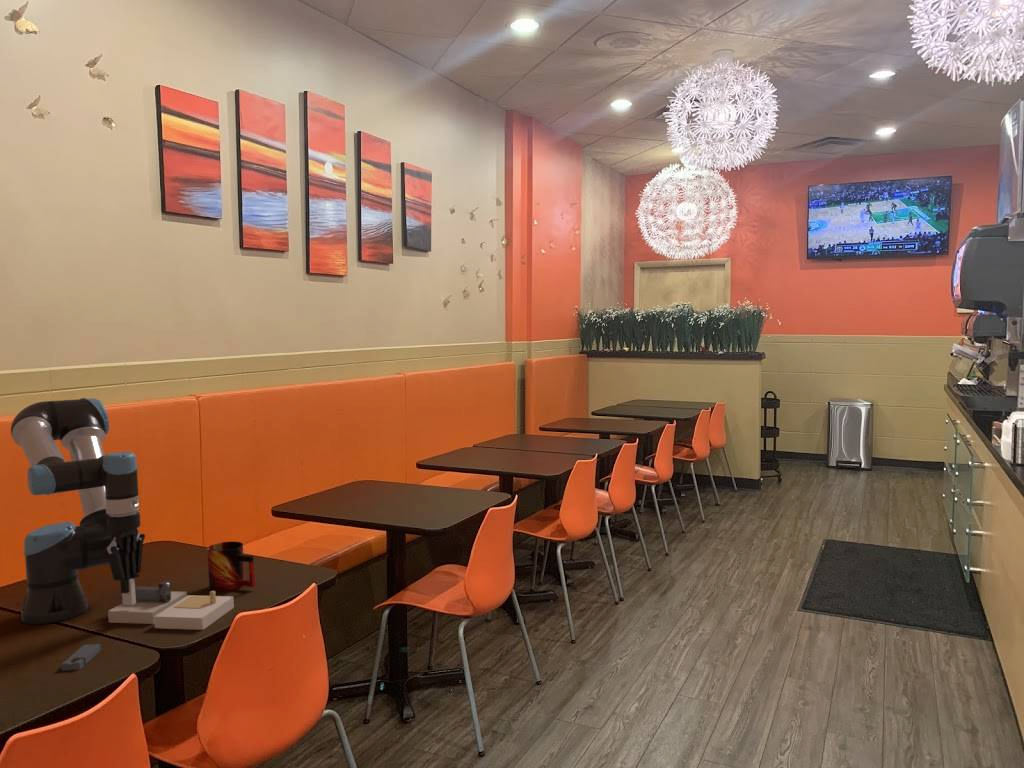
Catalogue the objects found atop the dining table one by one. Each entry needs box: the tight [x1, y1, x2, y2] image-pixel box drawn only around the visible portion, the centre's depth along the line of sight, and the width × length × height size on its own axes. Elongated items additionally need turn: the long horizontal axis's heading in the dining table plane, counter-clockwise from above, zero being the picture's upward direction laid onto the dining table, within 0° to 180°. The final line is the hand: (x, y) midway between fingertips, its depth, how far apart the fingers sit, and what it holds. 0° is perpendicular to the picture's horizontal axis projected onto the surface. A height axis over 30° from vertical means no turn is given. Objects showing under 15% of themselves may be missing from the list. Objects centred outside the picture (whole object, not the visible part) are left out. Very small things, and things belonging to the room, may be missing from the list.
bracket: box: [60, 643, 102, 672], centre depth 171 cm, size 4×10×2 cm, turn 5°
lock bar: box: [119, 580, 172, 602], centre depth 199 cm, size 13×3×5 cm, turn 81°
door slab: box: [153, 591, 235, 631], centre depth 195 cm, size 13×15×6 cm
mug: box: [206, 541, 256, 594], centre depth 218 cm, size 10×14×12 cm
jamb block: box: [107, 590, 188, 625], centre depth 200 cm, size 12×15×3 cm
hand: (129, 603), depth 194 cm, fingers closed
